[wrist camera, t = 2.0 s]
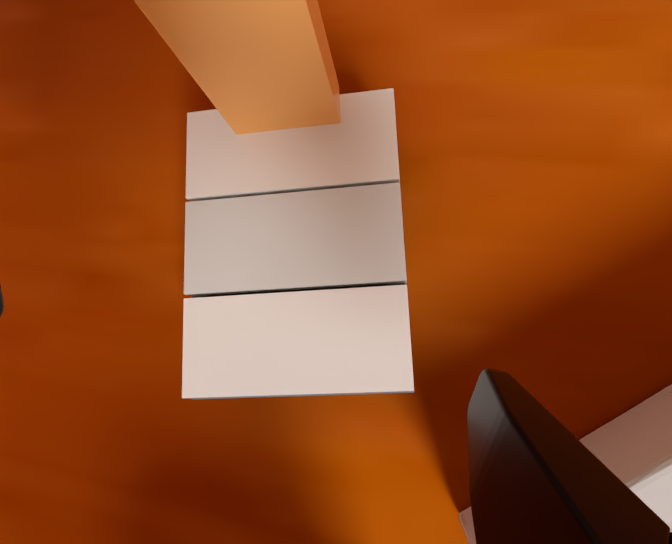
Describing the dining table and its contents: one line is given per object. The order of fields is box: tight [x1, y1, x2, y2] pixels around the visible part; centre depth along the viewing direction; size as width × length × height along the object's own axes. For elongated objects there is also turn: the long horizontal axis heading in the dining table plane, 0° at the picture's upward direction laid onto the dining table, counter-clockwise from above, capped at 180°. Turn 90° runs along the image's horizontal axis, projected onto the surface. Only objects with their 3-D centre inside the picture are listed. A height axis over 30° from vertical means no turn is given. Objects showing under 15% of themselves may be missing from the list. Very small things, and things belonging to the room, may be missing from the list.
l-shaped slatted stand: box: [134, 0, 414, 398], centre depth 12 cm, size 11×8×11 cm
